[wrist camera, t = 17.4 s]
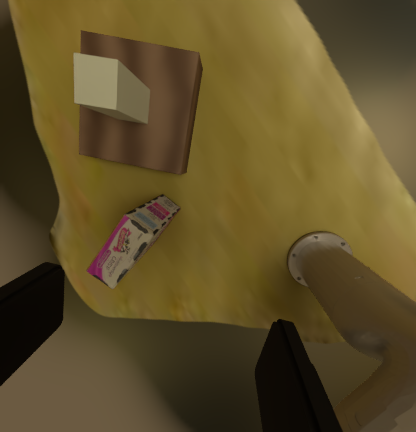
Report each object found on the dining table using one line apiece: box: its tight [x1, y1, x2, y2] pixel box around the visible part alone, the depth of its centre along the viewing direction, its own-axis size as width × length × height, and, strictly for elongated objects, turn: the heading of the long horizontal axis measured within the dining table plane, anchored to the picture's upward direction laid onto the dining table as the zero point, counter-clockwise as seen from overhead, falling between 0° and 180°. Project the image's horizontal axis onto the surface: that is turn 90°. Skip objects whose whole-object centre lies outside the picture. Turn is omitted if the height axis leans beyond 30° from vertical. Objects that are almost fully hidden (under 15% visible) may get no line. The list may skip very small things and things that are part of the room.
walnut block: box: [79, 30, 203, 175], centre depth 35 cm, size 18×18×6 cm
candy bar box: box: [86, 194, 180, 289], centre depth 35 cm, size 11×5×16 cm, turn 142°
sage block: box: [74, 53, 150, 124], centre depth 28 cm, size 5×5×10 cm
